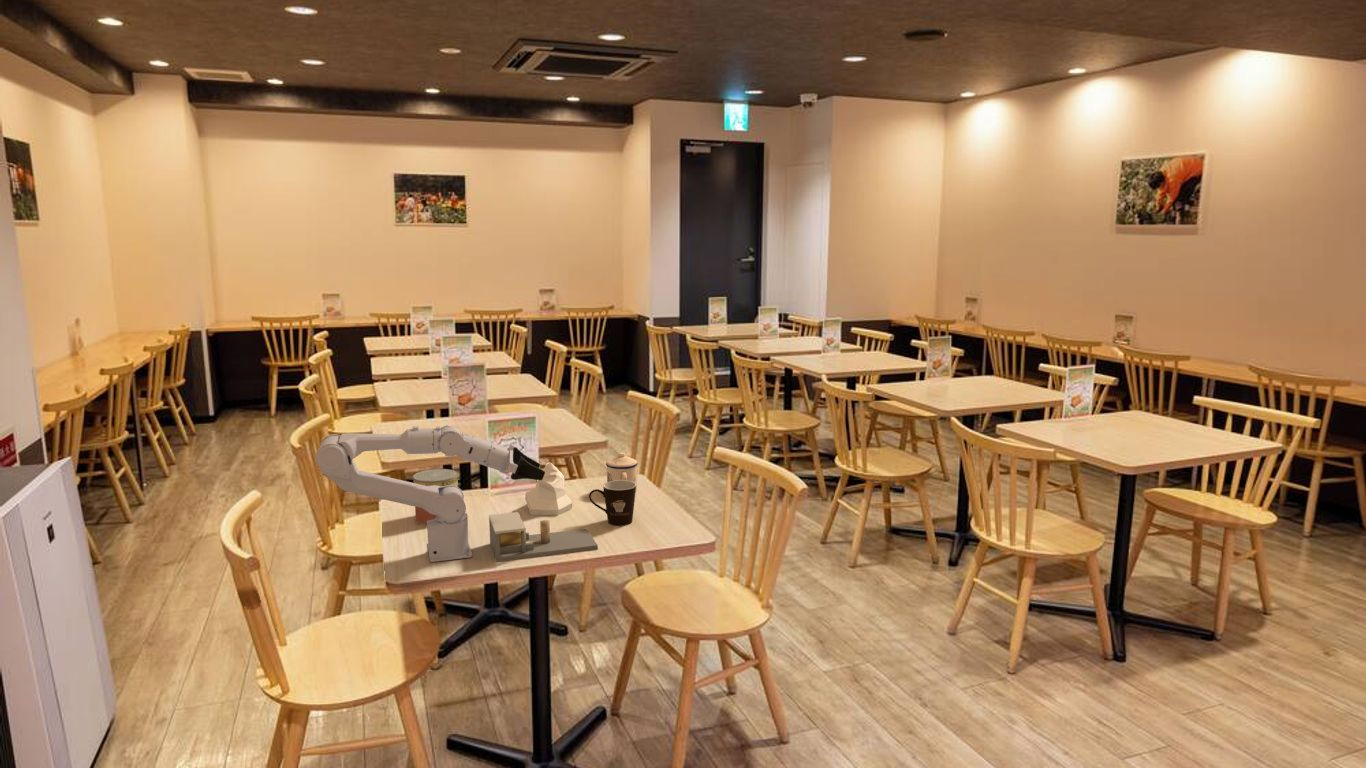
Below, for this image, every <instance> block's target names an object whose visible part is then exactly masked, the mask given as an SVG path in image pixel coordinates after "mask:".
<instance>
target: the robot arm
mask: <svg viewBox="0 0 1366 768" xmlns="http://www.w3.org/2000/svg"><path fill="white" fill-rule="evenodd" d="M387 450H388V451H389V450H402V451H404V452H405V454H407V455H417V454H418V455H421V454H422V455H423V454H424V455H425V454H427V455H428V454H429V455H430V454H438V453H442V454H444V456H445V457H455V456H457V457H460V458H463V459H464V460H467V461H469V462H473V463H475V464H479V465H481V466H484V467H488V468H490V469H493V470H496V471H499V472H500V473H502V474H505V473H511V476H510V479H511V480H514V481H517V480H525V479H526V480H536V481H538V480H542V479H543V477H544V474H545V472H544V471H543V470H542V469H541V468H540V466H541V463H539V462H538V461H536V460H534V459H532V458H531V457H529V456H528V455H526V454H524V453H523V452H522V451H521V450H519V448H518V447H516V446H515V444H513V443H509V446H508V447H507V446H503V445H500V444H498V443H495V442H493V441H489V440H486V439H484V438H481V437H478V436H476V435H471V434H469V433H465V432H461V431H460V430H459V429H458V428H457V427H456V426H451V425H449V424H448V425H444V426H442V427H441V426H436V427H435V428H419V426H418V425H412V428H407V429H405V431H403V432H402V433H401V434H398V433H397V434H395V433H394V434H393V433H357V432H356V433H354V432H353V433H351V432H350V433H349V432H345V433H341V435H340V434H336V433H334V434H333V433H332V434H328V435H326V436H325V437H324V438H323V439H322V440H321V441H320V443H319V448H318V449H317V451H316V453H315V461H316V464H317V466H318V469H319V471H320V473H321V474H323V475H325V476H327V478H329V479H330V480H331V481H332V483H334V484H335V486H337V487H338V488H340V489H341V490H342V491H345V492H348V493H352V494H358V495H361V496H365V497H366V496H367V497H372V498H375V499H379V500H380V499H381V500H385V501H389V502H393V503H398V504H402V505H407V506H411V507H414V508H415V507H420V508H423V509H424V510H426V511H427V512H429V513H430V514H433V515H436V518H435V519H432V520H428V521H427V526H426V529H427V543H426V551H427V552H428V556H429V562H431V563H435V562H443V561H451V560H459V559H469V558H472V557H473V553H472V550H471V547H470V542H469V541H470V540H469V527H468V526H469V525H468V518H469V517H468V513H467V512H466V511H467V507H466V506H467V505H466V502H465V499H464V498H465V496H464V495H465V494H464V492H463V490H462V489H461V488H460V487H459V486H458V487H457V486H454V485H447V486H437V485H433V486H424V485H420V484H416V483H414V482H410V481H407V480H402V479H398V478H392V477H389V476H385V475H381V474H376V473H372V472H367V471H362V470H359V468H358V467H357V466H356V462H354V459H355V458H356V457H358V456H360V455H361V454H362V453H364V452H371V451H372V452H375V451H387Z"/></svg>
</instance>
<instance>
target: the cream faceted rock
mask: <svg viewBox="0 0 1366 768" xmlns="http://www.w3.org/2000/svg"><path fill="white" fill-rule="evenodd" d="M541 470H543V471H544V472H545V474H544V477H543V479H542V480H536V483H535V487H534V488H532V489H530V490H528V491H526V492H525V495H524V496H525V497H524V498H525V502H526V506H527V508H528V512H529V515H532V516H534V515H535V516H559V515H562V514H564V513H566V512H567V511H569V510H571V509H572V508H573V505H574V503H573V501H572V500H571V499H570V497H569V496H568V495H567V493H566V490H565V476H564V474H563V473H562V472H561V471H560V470H559V469H558V467H556V466H555V465H554V464H553V463H552V462H547V463H546V464H545V466H544V468H542V469H541Z"/></svg>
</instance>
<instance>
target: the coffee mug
mask: <svg viewBox="0 0 1366 768" xmlns="http://www.w3.org/2000/svg"><path fill="white" fill-rule="evenodd" d="M602 485H603V486H602V488H603V490H601V489H597V488H596V489H593V490H591V491H590V492H589V495H588V499H589V501H590V502H591V503H592V504H593V505H594V506H595V507H596V508H598V509H599V510H602V511H603V512H605V514H606V517H607V523H608V524H609V525H611V526H615V527H623V526H628V525H631V524H632V523H633V518H634V510H635V501H636V500H635V499H636V493H637V491H636V483H634V482H632V481H627V480H615V481H609V482H607V481H605V483H603V484H602ZM635 492H636V493H635ZM594 493H599V494H601V495H602V497H603V498H604V502H605V508H604V507H602V506H601V505H600V504H597V502H595V501H594V500H593V499H592V494H594Z"/></svg>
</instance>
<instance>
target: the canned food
mask: <svg viewBox="0 0 1366 768" xmlns="http://www.w3.org/2000/svg"><path fill="white" fill-rule="evenodd" d="M412 480H413V483H416V484H420V485H424V486H433V485H437V486H447V485H454V486H457V487H459V484H458V482H459V480H458V471H457V470H454V469H449V468H448V469H447V468H434V469H426V470H421V471H419V472H416V473H415V474H414V475H412ZM414 509H415V511H414V513H415V514H414V515H415V518H414V519H415V523H417V524H418V525H422V526H426V527H427V521H428V520H432V519H435V518H436V515H433V514H430V513H429V512H427V511H426V510H424V509H423V508H420V507H415V506H414Z"/></svg>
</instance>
